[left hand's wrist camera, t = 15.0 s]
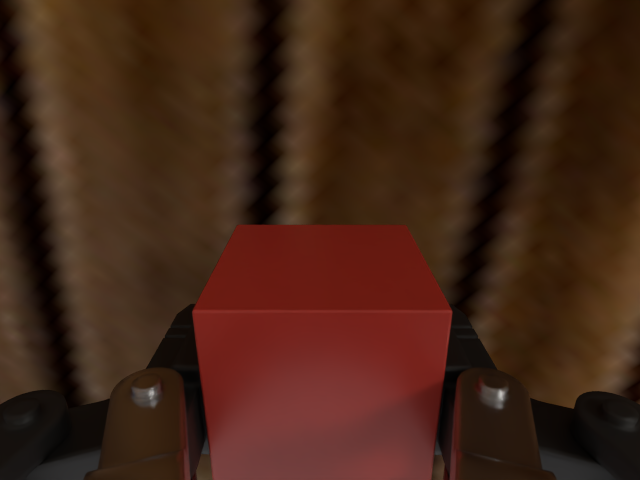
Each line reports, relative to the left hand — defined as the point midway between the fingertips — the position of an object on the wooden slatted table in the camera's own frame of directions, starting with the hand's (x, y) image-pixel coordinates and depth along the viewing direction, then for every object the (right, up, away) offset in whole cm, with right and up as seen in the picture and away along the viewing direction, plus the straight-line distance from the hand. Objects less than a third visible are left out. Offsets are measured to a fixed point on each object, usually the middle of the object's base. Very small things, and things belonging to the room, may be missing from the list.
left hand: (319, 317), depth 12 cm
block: (0, 0, +1) cm, 1 cm away
